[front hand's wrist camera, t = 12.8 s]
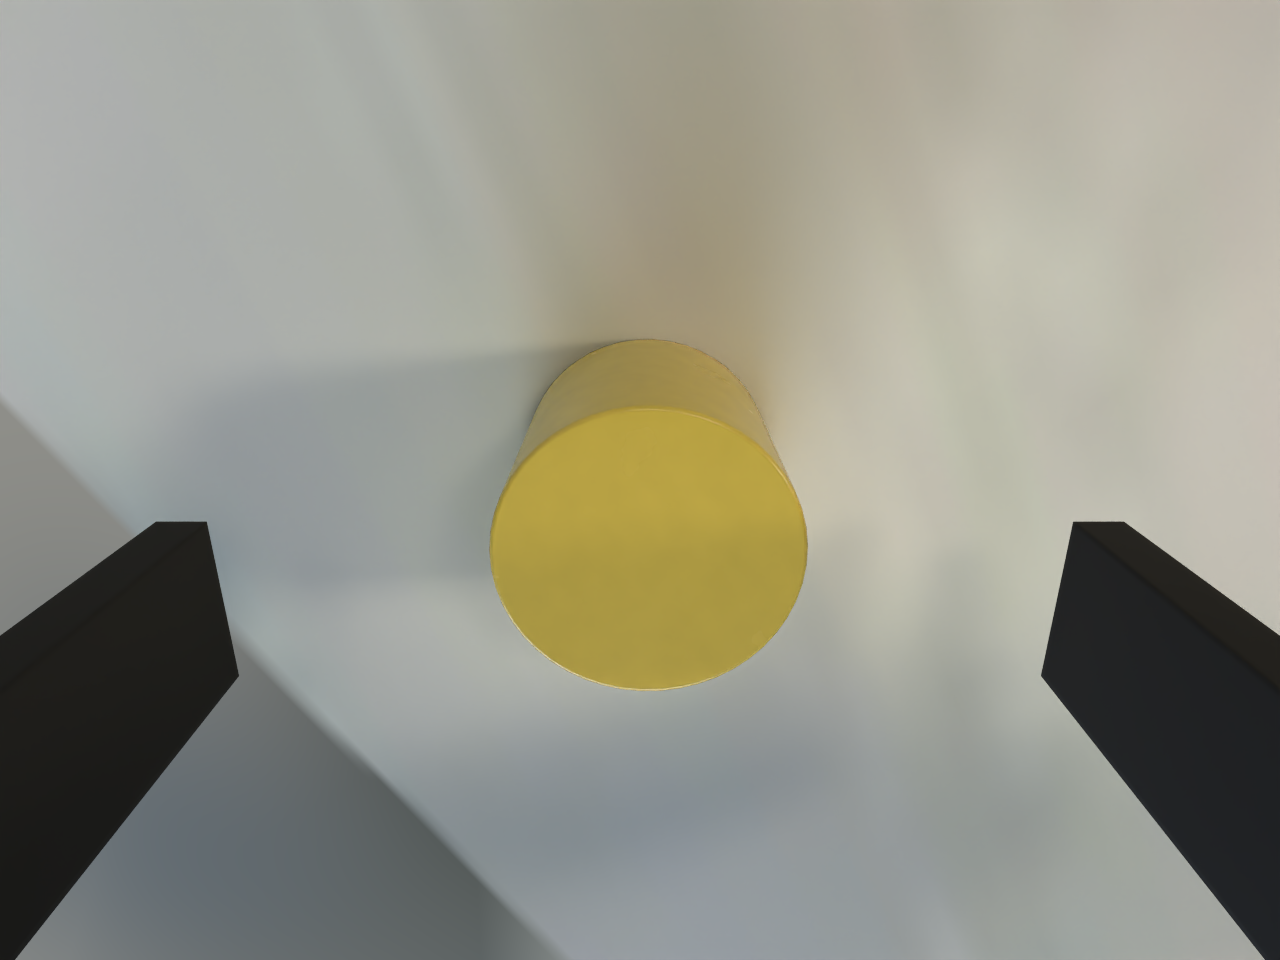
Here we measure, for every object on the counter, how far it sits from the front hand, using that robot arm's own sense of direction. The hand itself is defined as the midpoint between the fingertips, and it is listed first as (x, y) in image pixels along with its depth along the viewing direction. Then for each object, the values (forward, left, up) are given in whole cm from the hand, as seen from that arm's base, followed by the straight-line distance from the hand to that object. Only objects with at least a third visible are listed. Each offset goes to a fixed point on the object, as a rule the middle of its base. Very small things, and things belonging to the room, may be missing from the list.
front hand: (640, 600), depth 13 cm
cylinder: (0, 0, -6) cm, 6 cm away
